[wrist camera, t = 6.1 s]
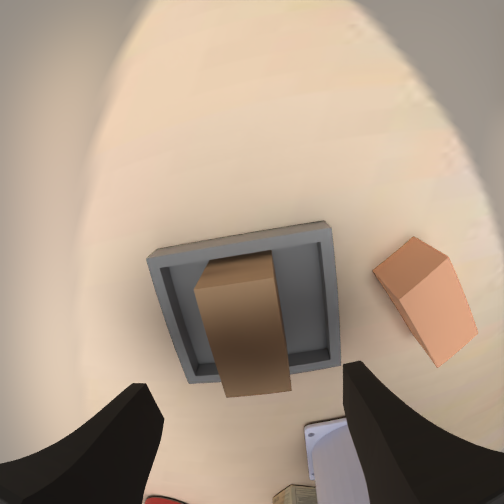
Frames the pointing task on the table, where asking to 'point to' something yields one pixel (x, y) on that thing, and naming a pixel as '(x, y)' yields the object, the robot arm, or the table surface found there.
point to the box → (296, 495)
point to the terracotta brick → (428, 298)
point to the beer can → (161, 501)
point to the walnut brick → (245, 324)
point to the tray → (289, 287)
